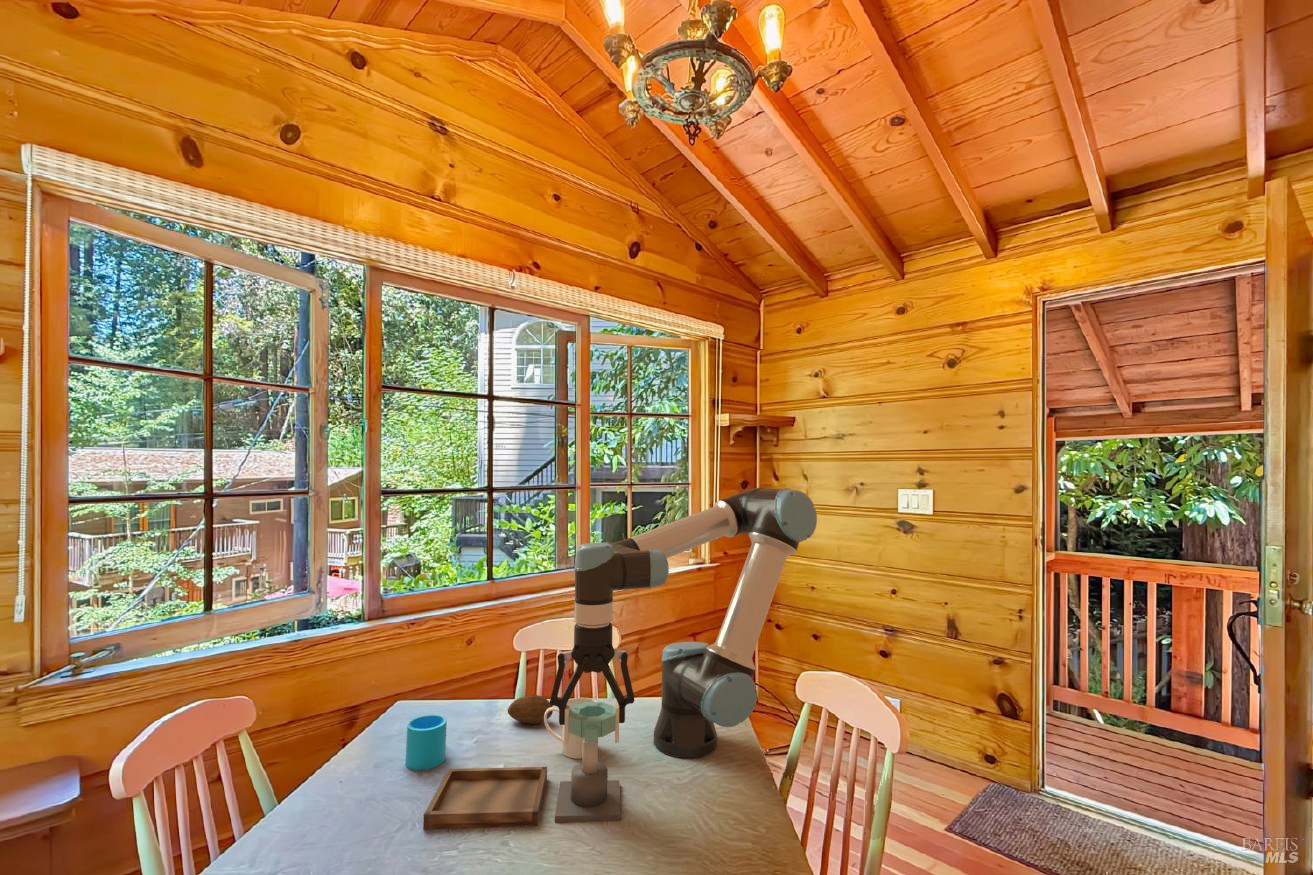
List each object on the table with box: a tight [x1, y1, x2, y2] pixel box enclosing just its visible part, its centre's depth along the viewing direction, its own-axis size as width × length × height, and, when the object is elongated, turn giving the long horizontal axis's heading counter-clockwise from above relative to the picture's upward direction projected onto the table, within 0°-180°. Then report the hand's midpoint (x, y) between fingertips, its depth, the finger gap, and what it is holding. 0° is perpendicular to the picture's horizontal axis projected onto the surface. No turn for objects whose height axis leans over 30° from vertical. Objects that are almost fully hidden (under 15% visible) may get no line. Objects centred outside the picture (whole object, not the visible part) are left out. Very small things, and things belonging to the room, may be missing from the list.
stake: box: [554, 739, 622, 823], centre depth 112 cm, size 12×12×12 cm
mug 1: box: [405, 714, 448, 771], centre depth 129 cm, size 12×8×8 cm
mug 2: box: [543, 697, 598, 760], centre depth 132 cm, size 12×8×10 cm, turn 97°
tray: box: [422, 766, 548, 830], centre depth 111 cm, size 20×16×2 cm
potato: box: [507, 694, 554, 725], centre depth 147 cm, size 7×12×7 cm, turn 92°
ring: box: [568, 701, 615, 743], centre depth 112 cm, size 9×11×3 cm
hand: (591, 740), depth 113 cm, fingers closed on ring, 9 cm apart
